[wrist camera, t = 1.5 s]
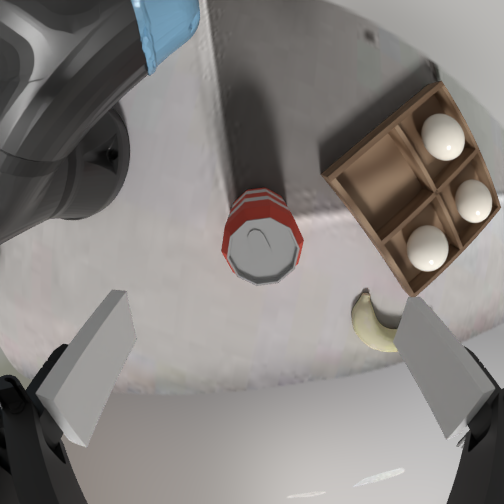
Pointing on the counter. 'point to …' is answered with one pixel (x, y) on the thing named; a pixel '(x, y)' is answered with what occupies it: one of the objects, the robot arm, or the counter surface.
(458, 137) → the egg
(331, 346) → the counter surface
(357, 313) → the fruit
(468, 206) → the egg
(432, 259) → the egg
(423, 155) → the crate
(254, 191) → the beverage can
